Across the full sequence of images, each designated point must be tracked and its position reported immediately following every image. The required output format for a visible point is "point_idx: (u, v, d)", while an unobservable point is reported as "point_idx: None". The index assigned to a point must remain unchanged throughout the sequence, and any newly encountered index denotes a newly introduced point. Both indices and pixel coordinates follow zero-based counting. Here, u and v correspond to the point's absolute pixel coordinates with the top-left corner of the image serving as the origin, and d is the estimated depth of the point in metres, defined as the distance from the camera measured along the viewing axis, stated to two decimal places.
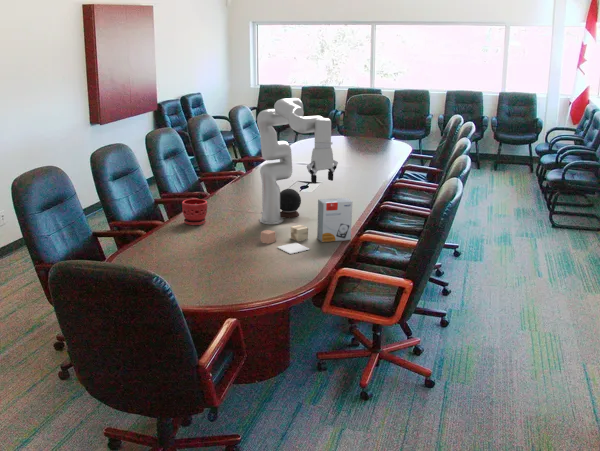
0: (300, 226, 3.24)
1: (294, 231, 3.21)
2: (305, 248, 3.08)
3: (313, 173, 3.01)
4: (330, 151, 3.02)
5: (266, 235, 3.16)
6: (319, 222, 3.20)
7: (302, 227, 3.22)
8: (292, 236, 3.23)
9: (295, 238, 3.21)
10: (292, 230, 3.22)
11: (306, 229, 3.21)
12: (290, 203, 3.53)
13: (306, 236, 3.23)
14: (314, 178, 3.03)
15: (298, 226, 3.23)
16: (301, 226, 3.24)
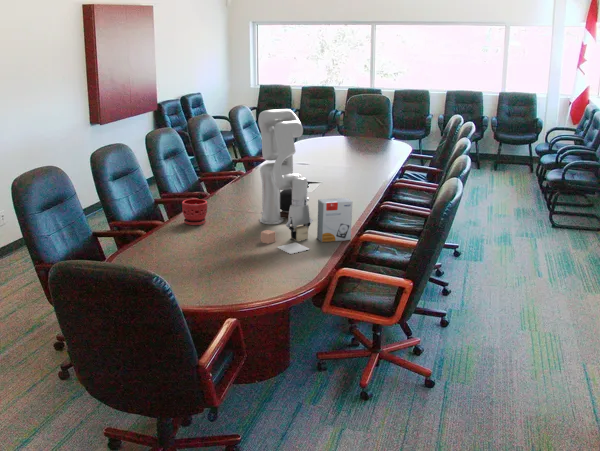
0: (300, 226, 3.23)
1: None
2: (305, 248, 3.08)
3: (293, 230, 3.19)
4: (306, 207, 3.19)
5: (266, 235, 3.16)
6: (319, 222, 3.20)
7: (302, 227, 3.22)
8: None
9: None
10: None
11: (306, 229, 3.21)
12: (290, 203, 3.53)
13: (306, 236, 3.22)
14: None
15: (299, 226, 3.23)
16: (301, 226, 3.23)
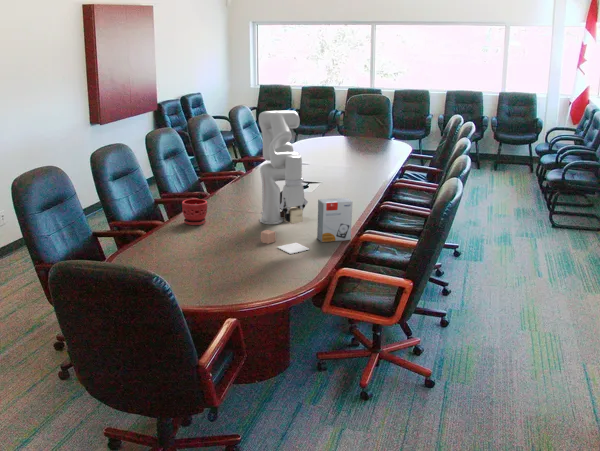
0: (294, 208, 3.05)
1: None
2: (305, 248, 3.08)
3: (286, 212, 3.00)
4: (301, 188, 3.00)
5: (266, 235, 3.16)
6: (319, 222, 3.20)
7: (296, 208, 3.03)
8: None
9: None
10: None
11: (301, 211, 3.03)
12: None
13: (301, 218, 3.04)
14: None
15: (293, 208, 3.04)
16: (296, 208, 3.05)
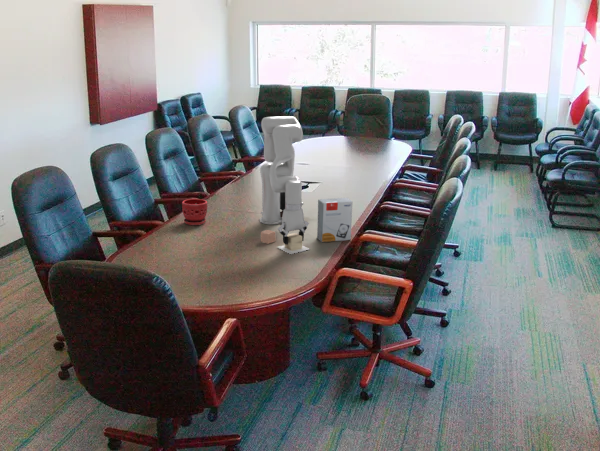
0: (294, 234, 3.09)
1: None
2: (305, 248, 3.08)
3: (284, 235, 3.03)
4: (301, 212, 3.04)
5: (266, 235, 3.16)
6: (319, 222, 3.20)
7: (296, 235, 3.08)
8: (286, 245, 3.09)
9: (289, 247, 3.07)
10: None
11: (300, 238, 3.07)
12: None
13: (300, 245, 3.08)
14: None
15: (292, 235, 3.08)
16: (295, 234, 3.09)
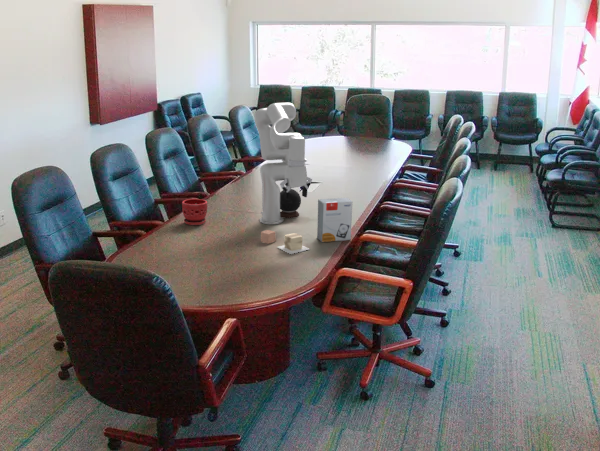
0: (294, 234, 3.09)
1: (287, 240, 3.07)
2: (305, 248, 3.08)
3: (286, 190, 3.04)
4: (304, 169, 3.05)
5: (266, 235, 3.16)
6: (319, 222, 3.20)
7: (296, 235, 3.08)
8: (286, 245, 3.09)
9: (289, 247, 3.07)
10: (286, 239, 3.08)
11: (300, 238, 3.07)
12: (290, 203, 3.53)
13: (300, 245, 3.08)
14: (287, 195, 3.06)
15: (292, 235, 3.08)
16: (295, 234, 3.09)
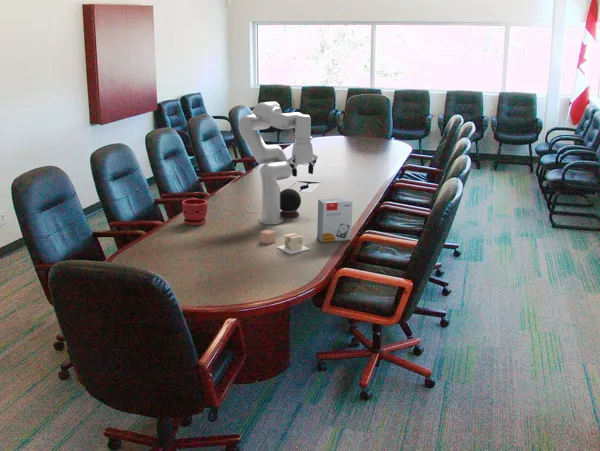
0: (294, 234, 3.09)
1: (287, 240, 3.07)
2: (305, 248, 3.08)
3: (294, 167, 3.17)
4: (310, 146, 3.18)
5: (266, 235, 3.16)
6: (319, 222, 3.20)
7: (296, 235, 3.08)
8: (286, 245, 3.09)
9: (289, 247, 3.07)
10: (286, 239, 3.08)
11: (300, 238, 3.07)
12: (290, 203, 3.53)
13: (300, 245, 3.08)
14: (295, 171, 3.19)
15: (292, 235, 3.08)
16: (295, 234, 3.09)
